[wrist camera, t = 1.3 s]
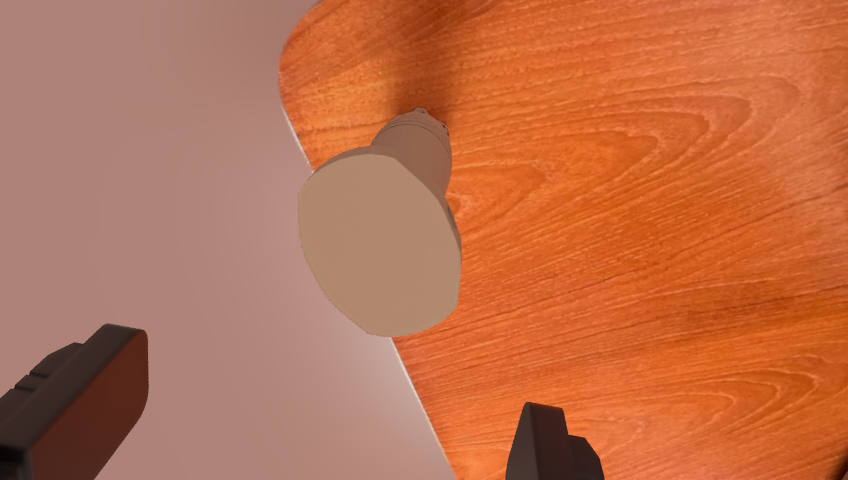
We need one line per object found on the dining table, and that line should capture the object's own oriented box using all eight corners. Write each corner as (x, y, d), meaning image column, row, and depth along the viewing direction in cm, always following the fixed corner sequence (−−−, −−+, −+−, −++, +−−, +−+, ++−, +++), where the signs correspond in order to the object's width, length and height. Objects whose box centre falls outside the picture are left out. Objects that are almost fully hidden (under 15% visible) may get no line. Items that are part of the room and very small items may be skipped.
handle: (438, 62, 32) (411, 132, 18) (481, 174, 34) (485, 312, 21) (354, 96, 33) (268, 186, 19) (400, 203, 35) (353, 352, 22)
